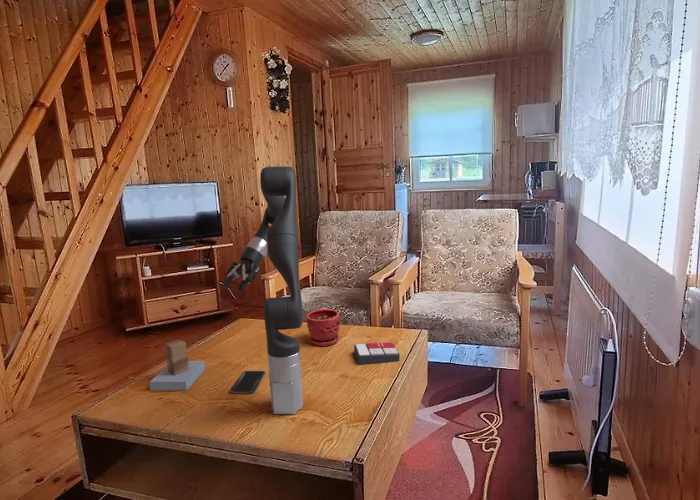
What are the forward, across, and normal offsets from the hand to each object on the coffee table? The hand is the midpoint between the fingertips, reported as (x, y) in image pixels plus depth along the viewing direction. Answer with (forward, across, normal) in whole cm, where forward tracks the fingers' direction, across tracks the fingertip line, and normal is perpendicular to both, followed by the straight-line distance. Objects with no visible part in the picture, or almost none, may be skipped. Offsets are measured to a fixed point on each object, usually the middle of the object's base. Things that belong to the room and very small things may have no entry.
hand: (231, 289), depth 159 cm
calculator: (-4, +36, +45) cm, 58 cm away
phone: (+25, +15, +16) cm, 33 cm away
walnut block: (+31, -7, +5) cm, 32 cm away
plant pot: (-4, +10, +44) cm, 46 cm away
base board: (+33, -7, +7) cm, 35 cm away
